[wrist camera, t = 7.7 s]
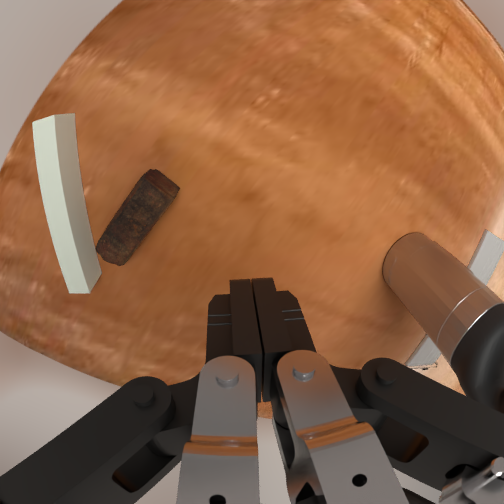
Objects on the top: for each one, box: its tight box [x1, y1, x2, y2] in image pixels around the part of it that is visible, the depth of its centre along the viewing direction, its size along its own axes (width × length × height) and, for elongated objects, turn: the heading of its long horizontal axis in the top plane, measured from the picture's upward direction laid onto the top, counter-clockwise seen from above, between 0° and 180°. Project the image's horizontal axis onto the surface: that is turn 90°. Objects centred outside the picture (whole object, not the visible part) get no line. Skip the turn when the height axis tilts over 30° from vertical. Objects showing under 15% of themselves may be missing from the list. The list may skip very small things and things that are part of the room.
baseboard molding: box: [405, 229, 504, 370], centre depth 43 cm, size 31×3×12 cm
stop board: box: [32, 113, 102, 293], centre depth 26 cm, size 3×20×4 cm, turn 0°
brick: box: [95, 169, 180, 266], centre depth 28 cm, size 11×4×5 cm, turn 136°
